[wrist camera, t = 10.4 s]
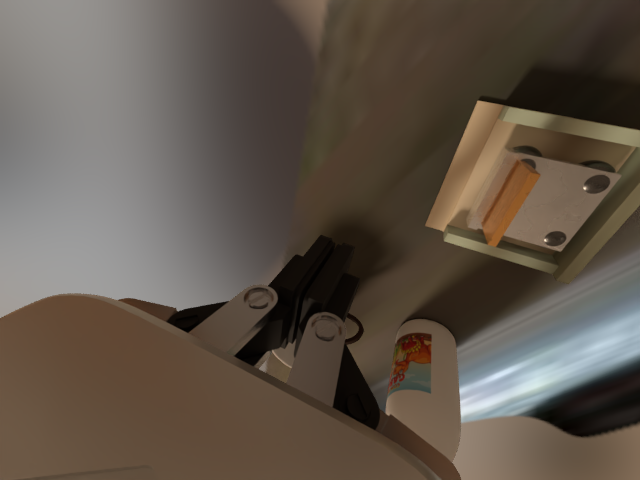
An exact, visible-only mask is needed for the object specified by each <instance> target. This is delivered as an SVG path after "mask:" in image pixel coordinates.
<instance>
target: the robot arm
mask: <svg viewBox="0 0 640 480" xmlns="http://www.w3.org/2000/svg"><path fill="white" fill-rule="evenodd" d="M334 248H335V243H333V242H332V239H331V238H328V237H326V236H323V235H320V237H319V238H318V239H317V240H316V241H315V243H314V244H313V245H312V246H311V248H310V249H309V250H308V251H307V252H306V254H305V255H304V256H303V257H302V256H300V255H295V256H294V257H293V258H292V259H291V260H290V261H289V262H288V264H287V265H286V266H285V267H284V268H283V269H282V271H281V272H280V273H279V274H278V275H277V276H276V277H275V279H274V280H273V281H272V282H271V283H270V284H269V285H268V286H265V285H253V286H250V287H248V288H246V289H244V290H243V291H242V292H241V293H239V294H238V295H237V296H235V297H234V298H233V299H232V300H230V301H227V302H222V303H216V304H211V305H205V306H200V307H194V308H188V309H184V310H182V311H179V312H178V311H177V310H176V308H173V307H168V306H164V305H160V304H155V303H150V302H146V301H141V300H137V299H131V298H125V299H120V300H114V299H111V298H107V297H103V296H97V295H89V294H59V295H55V296H50V297H47V298H44V299H41V300H39V301H36V302H34V303H31V304H29V305H27V306H24V307H22V308H20V309H18V310H16V311H14V312H12V313H10V314H8V315H6V316H4V317H2V318H0V480H461V477H460V475H459V473H458V471H457V469H456V468H455V466H454V465H453V463H452V462H451V461H450V460H449V459H448V458H447V457H446V456H444V455H443V454H442V453H440V452H439V451H438V450H437V449H435V448H434V447H433V446H431V445H430V444H429V443H428V442H426V441H425V440H424V439H422V438H421V437H420V436H419V435H417V434H416V433H415V432H413V431H412V430H411V429H410V428H408V427H407V426H406V425H404V424H403V423H402V422H400V421H399V420H398V419H397V418H395V417H394V416H393V415H391V414H390V415H389V416H388V415H387V414H385V413H384V412H383V411H382V410H380V409H379V407H378V404H377V401H376V399H375V398H374V396H373V394H372V392H371V390H370V388H369V386H368V384H367V383H366V381H365V379H364V377H363V375H362V373H361V371H360V370H359V368H358V366H357V364H356V362H355V360H354V358H353V357H352V355H351V353H350V351H349V349H348V347H347V345H346V344H345V337H346V327H345V324H344V322H345V319H346V317H347V314H348V312H349V310H350V307H351V305H352V302H353V299H354V297H355V294H356V291H357V288H358V285H359V281H360V278H357V277H354V276H352V275H349V274H347V273H348V269H349V266H350V262H351V259H352V255H353V252H354V248H355V247H354V246H351V245H348V244H345V243H343V244H342V245H339V244H338V245H337V247H336V248H335V250H334ZM295 339H296V343H295V349H294V358H295V360H294V362H293V365H292V368H291V371H290V374H289V377H288V380H287V382H286V383H284V382H282V381H280V380H278V379H277V378H275V377H273V376H271V375H269V374H267V373H265V372H263V371H261V370H259V368H260V367H261V365H262V364H263V363H264V362H265V361H266V360H267V359H268V357H269V356H270V355H271V353H272V350H275V349H279V348H280V347H281V348H283V349H285V348H286V346H287V345H288V343H291V344H293V343H294V341H295Z"/></svg>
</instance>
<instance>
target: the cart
mask: <svg viewBox="0 0 640 480" xmlns="http://www.w3.org/2000/svg"><path fill="white" fill-rule="evenodd" d="M621 176H622V175H621V174H619V173H617V172H616V170H615V169H614V167H613V166H612V165H610V164H609V163H607V162H604V161H600V160H589V161H584V162H581V163H578V164H577V163H572V162H568V161H563V160H558V159H554V158H549V157H545V156H543V155H542V153H541V152H540V151H539V150H538V149H537V148H535V147H533V146H528V145H522V146H517V147H514V148H512V149H511V148H507V147H503V148H502V150H501V152H500V154H499V155H498V157H497V159H496V161H495V163H494V165H493V167H492V169H491V171H490V173H489V175H488V177H487V179H486V181H485V183H484V185H483V187H482V189H481V190H480V192H479V194H478V196H477V198H476V200H475V202H474V204H473V206H472V208H471V210H470V212H469V214H468V216H467V218H466V221H467V226H468V228H472V229H475V230H477V229H478V228H479V229H481V230H483V231H484V234H485V238H486V241H487V244H488V245H490V246H494V247H496V246H497V244H498V243H499V241H500V239H501V238H502V236H503V235H504V236H507V237H511V238H514V239H518V240H521V241H525V242H528V243H532V244H535V245H538V246H540V247H542V248H548V249H553V250H556V251H560V252H561V251H562V250H563V248H564V247H565V246H566V245H567V243H568V242H569V241H570V240H571V238H572V237H573V236H574V235H575V233H576V232H577V231H578V230H579V228H580V227H581V226H582V225H583V223H584V222H585V221H586V220H587V219H588V217H589V216H590V215H591V214H592V212H593V211H594V210H595V209H596V207H597V206H598V205H599V204H600V202H601V201H602V200H603V199H604V197H605V196H606V195H607V194H608V192H609V191H610V190H611V189H612V187H613V186H614V185H615V184H616V182H617V181H618V180H619V179H620V177H621Z"/></svg>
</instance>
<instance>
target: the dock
mask: <svg viewBox="0 0 640 480" xmlns="http://www.w3.org/2000/svg"><path fill="white" fill-rule="evenodd" d="M522 145H528V146H533V147H535V148H537V149H538V150H539V151H540V152H541V153H542V155H543V156H545V157H549V158H554V159H558V160H563V161H568V162H572V163H577V164H578V163H581V162H584V161H589V160H600V161H604V162H607V163H609V164H610V165H612V166H613V167H614V169H615V170H616V172H617V173H619V174H621V175H622V176H621V177H620V179H619V180H618V181H617V182H616V184H615V185H614V186H613V187H612V189H611V190H610V191H609V192H608V194H607V195H606V196H605V197H604V199H603V200H602V201H601V202H600V204H599V205H598V206H597V207H596V209H595V210H594V211H593V212H592V214H591V215H590V216H589V217H588V219H587V220H586V221H585V222H584V223H583V225H582V226H581V227H580V228H579V230H578V231H577V232H576V233H575V235H574V236H573V237H572V238H571V240H570V241H569V242H568V243H567V245H566V246H565V247H564V248H563V250H562V251H561V252H560V251H556V250H553V249H548V248H542V247H540V246H538V245H535V244H532V243H528V242H525V241H521V240H518V239H514V238H511V237H507V236H504V235H503V236H502V238H501V239H500V241H499V243H498V244H497V246H496V247H494V246H490V245H488V244H487V241H486V238H485V234H484V231H483V230H481V229H479V228H478V229H477V230H475V229H472V228H468V226H467V221H466V218H467V216H468V214H469V212H470V210H471V208H472V206H473V204H474V202H475V200H476V198H477V196H478V194H479V192H480V190H481V189H482V187H483V185H484V183H485V181H486V179H487V177H488V175H489V173H490V171H491V169H492V167H493V165H494V163H495V161H496V159H497V157H498V155H499V154H500V152H501V150H502V148H503V147H507V148H511V149H512V148H514V147H517V146H522ZM639 205H640V130H638V129H632V128H627V127H621V126H616V125H610V124H605V123H599V122H593V121H588V120H582V119H577V118H571V117H566V116H560V115H555V114H549V113H544V112H538V111H533V110H527V109H522V108H516V107H511V106H505V105H500V104H494V103H489V102H483V101H477V103H476V106H475V108H474V110H473V113H472V115H471V118H470V120H469V122H468V125H467V127H466V129H465V132H464V134H463V136H462V139H461V141H460V144H459V146H458V148H457V151H456V153H455V155H454V158H453V160H452V162H451V165H450V167H449V170H448V172H447V174H446V177H445V179H444V181H443V184H442V186H441V189H440V191H439V193H438V196H437V198H436V200H435V203H434V205H433V207H432V210H431V212H430V215H429V217H428V219H427V222H426V224H425V226H428V227H431V228H434V229H438V230H441V231H443V232H444V241H445V242H449V243H452V244H455V245H459V246H462V247H465V248H468V249H472V250H475V251H478V252H481V253H485V254H488V255H491V256H495V257H498V258H501V259H504V260H508V261H511V262H514V263H518V264H521V265H524V266H527V267H531V268H534V269H537V270H541V271H544V272H547V273H550V274H553V276H554V277H555V279H556V280H557V281H560V282H563V283H566V284H569V283H570V282H571V281H572V280H573V279H574V278H575V277H576V276H577V274H578V273H579V272H580V271H581V270H582V269H583V268H584V267H585V266H586V264H587V263H588V262H589V261H590V260H591V259H592V258H593V257H594V256H595V254H596V253H597V252H598V251H599V250H600V249H601V248H602V247H603V246H604V244H605V243H606V242H607V241H608V240H609V239H610V238H611V237H612V236H613V234H614V233H615V232H616V231H617V230H618V229H619V228H620V227H621V226H622V224H623V223H624V222H625V221H626V220H627V219H628V218H629V217H630V216H631V214H632V213H633V212H634V211H635V210H636V209H637V208H638V207H639Z"/></svg>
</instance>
